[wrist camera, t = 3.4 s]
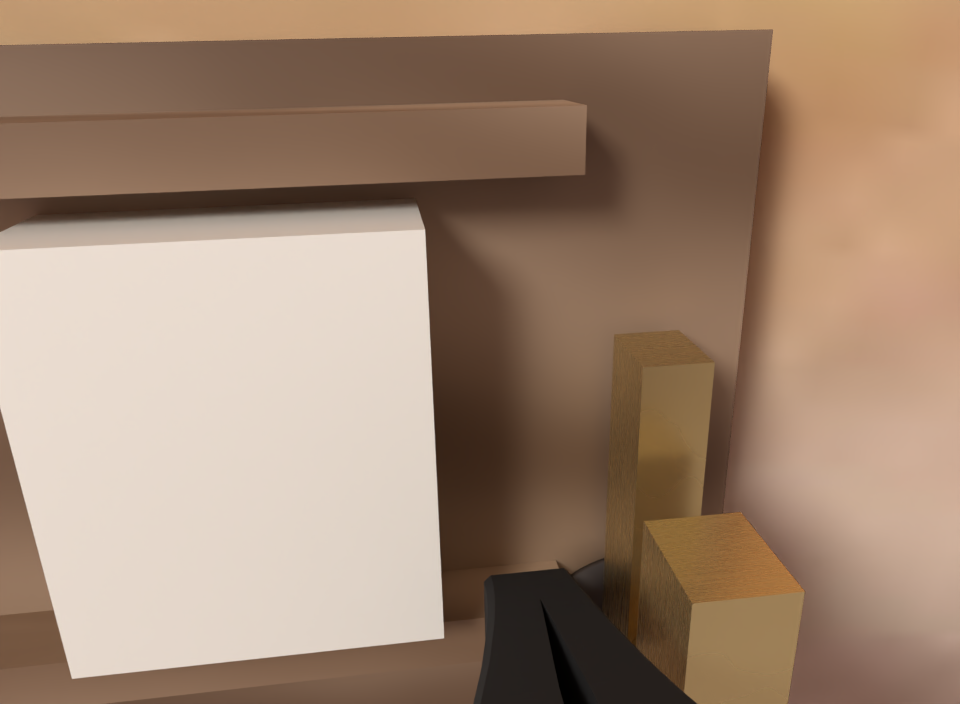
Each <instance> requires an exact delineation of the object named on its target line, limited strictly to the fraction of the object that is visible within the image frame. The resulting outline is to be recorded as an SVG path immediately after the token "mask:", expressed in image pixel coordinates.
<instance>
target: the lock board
mask: <svg viewBox="0 0 960 704" xmlns="http://www.w3.org/2000/svg"><path fill="white" fill-rule="evenodd" d="M772 34H773V30H726V31H677V32H628V33H579V34H530V35H481V36H432V37H383V38H335V39H286V40H237V41H188V42H139V43H90V44H41V45H0V232H2V231H4V230H6V229H8V228H10V227H12V226H14V225H16V224H18V223H20V222H22V221H24V220H27V219H29V218H31V217H33V216H35V215H49V214H72V213H95V212H117V211H140V210H163V209H186V208H208V207H231V206H254V205H276V204H299V203H322V202H344V201H367V200H390V199H412V198H415V199H416V202H417V206H418V209H419V212H420V215H421V218H422V221H423V224H424V228H425V238H426V259H427V281H428V302H429V323H430V345H431V366H432V387H433V409H434V430H435V451H436V473H437V494H438V515H439V537H440V558H441V580H442V601H443V622H444V638H443V639H434V640H425V641H415V642H406V643H397V644H388V645H379V646H370V647H360V648H351V649H342V650H333V651H324V652H314V653H305V654H296V655H287V656H278V657H268V658H259V659H250V660H241V661H232V662H223V663H213V664H204V665H195V666H186V667H177V668H167V669H158V670H149V671H140V672H131V673H121V674H112V675H103V676H94V677H85V678H76V679H72V677H71V673H70V669H69V666H68V662H67V658H66V654H65V650H64V647H63V643H62V639H61V635H60V632H59V628H58V624H57V620H56V616H55V613H54V609H53V605H52V601H51V598H50V594H49V590H48V586H47V583H46V579H45V575H44V571H43V567H42V564H41V560H40V556H39V552H38V549H37V545H36V541H35V537H34V534H33V530H32V526H31V522H30V518H29V515H28V511H27V507H26V503H25V500H24V496H23V492H22V488H21V485H20V481H19V477H18V473H17V469H16V466H15V462H14V458H13V454H12V451H11V447H10V443H9V439H8V436H7V432H6V428H5V424H4V420H3V417H2V413H1V409H0V704H473V703H474V698H475V694H476V690H477V685H478V681H479V677H480V672H481V667H482V660H483V653H484V646H485V611H484V581H485V580H486V579H487V578H488V577H489V576H490V575H499V574H509V573H518V572H528V571H538V570H548V569H558V568H564V569H566V570H567V571H568V572H569V573H570V574H571V575H572V576H573V578H574V579H575V580H576V581H577V583H578V584H579V585H580V586H581V587H582V589H583V590H584V591H585V592H586V593H587V594H588V596H589V597H590V598H591V599H592V600H593V601H594V603H595V604H596V605H597V606H598V607H599V608H600V609H601V611H602V605H603V582H604V558H605V535H606V512H607V488H608V465H609V441H610V418H611V394H612V371H613V347H614V334H626V333H641V332H656V331H672V330H679V331H680V332H681V333H683V334H684V335H685V336H686V337H687V338H688V339H689V340H690V341H692V342H693V343H694V344H695V345H696V346H697V347H698V348H699V349H700V350H702V351H703V352H704V353H705V354H706V355H707V356H708V357H709V358H711V359H712V360H713V361H714V362H715V367H714V378H713V389H712V399H711V410H710V421H709V432H708V443H707V453H706V464H705V475H704V486H703V496H702V507H701V516H705V515H715V514H722V513H723V504H724V494H725V485H726V475H727V465H728V456H729V446H730V437H731V427H732V418H733V408H734V398H735V389H736V379H737V370H738V360H739V350H740V341H741V331H742V322H743V312H744V303H745V293H746V283H747V274H748V264H749V255H750V245H751V236H752V226H753V216H754V207H755V197H756V188H757V178H758V168H759V159H760V149H761V140H762V130H763V121H764V111H765V101H766V92H767V82H768V73H769V63H770V54H771V44H772Z"/></svg>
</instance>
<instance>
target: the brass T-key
mask: <svg viewBox="0 0 960 704" xmlns="http://www.w3.org/2000/svg"><path fill="white" fill-rule="evenodd" d="M714 367H715V362H714V361H713V360H712V359H711V358H709V357H708V356H707V355H706V354H705V353H704V352H703V351H702V350H700V349H699V348H698V347H697V346H696V345H695V344H694V343H693V342H692V341H690V340H689V339H688V338H687V337H686V336H685V335H684V334H683V333H681V332H680V331H679V330H672V331H656V332H641V333H626V334H614V347H613V371H612V394H611V418H610V441H609V465H608V488H607V512H606V535H605V558H604V582H603V605H602V612H603V613H604V614H605V615H606V616H607V617H608V618H609V619H610V621H611V622H612V623H613V624H614V625H615V626H616V627H617V628H618V629H619V630H620V631H621V632H622V633H623V634H624V635H625V636H626V637H627V638H628V639H629V640H630V642H631V643H632V644H633V645H634V646H635V647H636V648H637V649H638V650H639V651H640V652H641V653H642V654H643V655H644V656H645V657H646V658H647V659H648V660H649V661H650V662H651V663H653V664H654V665H655V666H656V667H657V668H658V669H659V670H660V671H661V672H662V673H663V674H664V675H665V676H666V677H668V678H669V679H670V680H671V681H672V682H673V683H674V684H675V685H676V686H677V687H679V688H680V689H681V690H682V691H683V692H684V693H685V694H687V695H688V696H689V697H690V698H691V699H692V700H694V701H695V702H696V703H697V704H788V698H789V692H790V685H791V679H792V672H793V666H794V659H795V653H796V646H797V640H798V633H799V627H800V620H801V614H802V608H803V601H804V595H805V591H804V590H803V589H802V587H801V586H800V585H799V584H798V582H797V581H796V580H795V579H794V577H793V576H792V575H791V574H790V573H789V571H788V570H787V569H786V568H785V566H784V565H783V564H782V563H781V561H780V560H779V559H778V558H777V556H776V555H775V554H774V553H773V552H772V550H771V549H770V548H769V547H768V545H767V544H766V543H765V542H764V540H763V539H762V538H761V537H760V535H759V534H758V533H757V532H756V531H755V529H754V528H753V527H752V526H751V524H750V523H749V522H748V521H747V519H746V518H745V517H744V516H743V514H742V513H741V512H736V513H726V514H715V515H705V516H701V507H702V496H703V486H704V475H705V464H706V453H707V443H708V432H709V421H710V410H711V399H712V389H713V378H714Z"/></svg>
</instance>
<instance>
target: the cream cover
mask: <svg viewBox="0 0 960 704" xmlns="http://www.w3.org/2000/svg"><path fill="white" fill-rule="evenodd" d="M0 409H1V413H2V417H3V420H4V424H5V428H6V432H7V436H8V439H9V443H10V447H11V451H12V454H13V458H14V462H15V466H16V469H17V473H18V477H19V481H20V485H21V488H22V492H23V496H24V500H25V503H26V507H27V511H28V515H29V518H30V522H31V526H32V530H33V534H34V537H35V541H36V545H37V549H38V552H39V556H40V560H41V564H42V567H43V571H44V575H45V579H46V583H47V586H48V590H49V594H50V598H51V601H52V605H53V609H54V613H55V616H56V620H57V624H58V628H59V632H60V635H61V639H62V643H63V647H64V650H65V654H66V658H67V662H68V666H69V669H70V673H71V677H72V679H76V678H85V677H94V676H103V675H112V674H121V673H131V672H140V671H149V670H158V669H167V668H177V667H186V666H195V665H204V664H213V663H223V662H232V661H241V660H250V659H259V658H268V657H278V656H287V655H296V654H305V653H314V652H324V651H333V650H342V649H351V648H360V647H370V646H379V645H388V644H397V643H406V642H415V641H425V640H434V639H443V638H444V622H443V601H442V580H441V558H440V537H439V515H438V494H437V473H436V451H435V430H434V409H433V387H432V366H431V345H430V323H429V302H428V281H427V259H426V238H425V228H424V224H423V221H422V218H421V215H420V212H419V209H418V206H417V202H416V199H415V198H412V199H390V200H367V201H344V202H322V203H299V204H276V205H254V206H231V207H208V208H186V209H163V210H140V211H117V212H95V213H72V214H49V215H35V216H33V217H31V218H29V219H27V220H24V221H22V222H20V223H18V224H16V225H14V226H12V227H10V228H8V229H6V230H4V231H2V232H0Z"/></svg>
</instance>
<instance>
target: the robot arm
mask: <svg viewBox="0 0 960 704" xmlns="http://www.w3.org/2000/svg"><path fill="white" fill-rule="evenodd" d="M484 611H485V646H484V653H483V660H482V667H481V672H480V677H479V681H478V685H477V690H476V694H475V698H474V703H473V704H697V703H696V702H695V701H694V700H692V699H691V698H690V697H689V696H688V695H687V694H685V693H684V692H683V691H682V690H681V689H680V688H679V687H677V686H676V685H675V684H674V683H673V682H672V681H671V680H670V679H669V678H668V677H666V676H665V675H664V674H663V673H662V672H661V671H660V670H659V669H658V668H657V667H656V666H655V665H654V664H653V663H651V662H650V661H649V660H648V659H647V658H646V657H645V656H644V655H643V654H642V653H641V652H640V651H639V650H638V649H637V648H636V647H635V646H634V645H633V644H632V643H631V642H630V640H629V639H628V638H627V637H626V636H625V635H624V634H623V633H622V632H621V631H620V630H619V629H618V628H617V627H616V626H615V625H614V624H613V623H612V622H611V621H610V619H609V618H608V617H607V616H606V615H605V614H604V613H603V612H602V611H601V609H600V608H599V607H598V606H597V605H596V604H595V603H594V601H593V600H592V599H591V598H590V597H589V596H588V594H587V593H586V592H585V591H584V590H583V589H582V587H581V586H580V585H579V584H578V583H577V581H576V580H575V579H574V578H573V576H572V575H571V574H570V573H569V572H568V571H567V570H566V569H564V568H558V569H548V570H538V571H528V572H518V573H509V574H499V575H490V576H489V577H488V578H487V579H486V580H485V581H484Z"/></svg>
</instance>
